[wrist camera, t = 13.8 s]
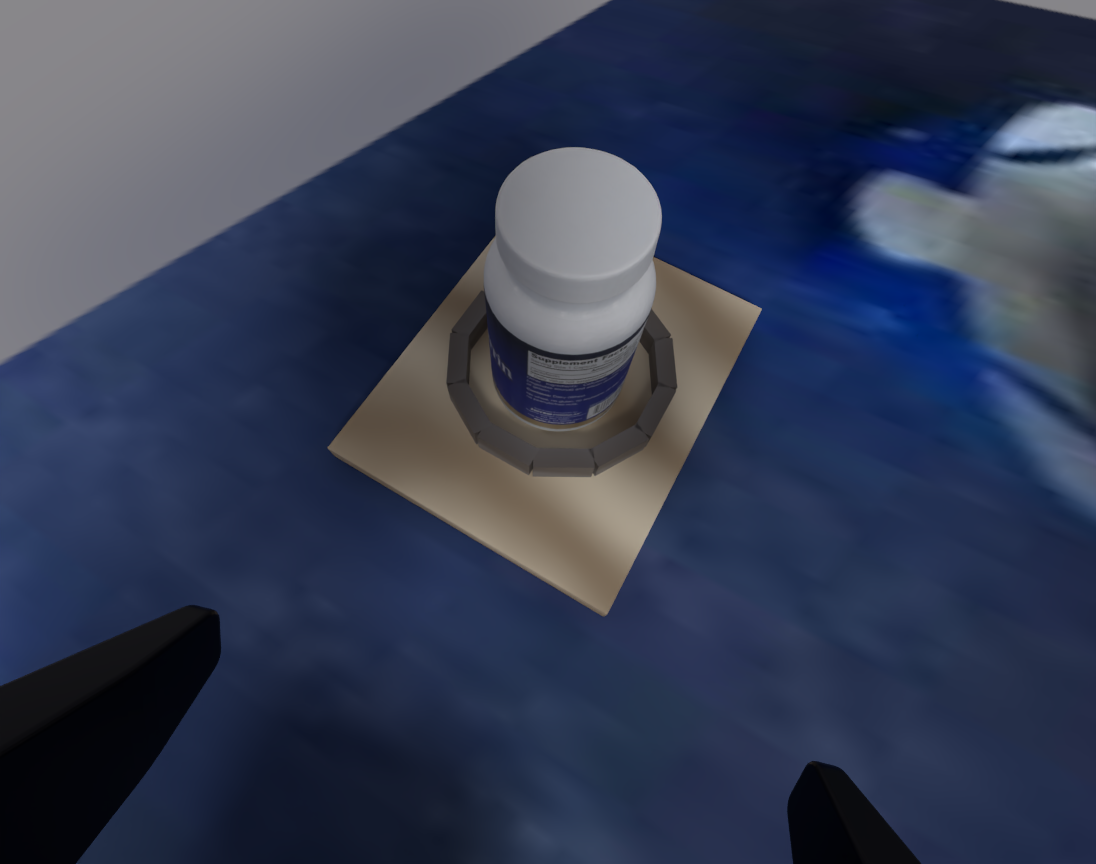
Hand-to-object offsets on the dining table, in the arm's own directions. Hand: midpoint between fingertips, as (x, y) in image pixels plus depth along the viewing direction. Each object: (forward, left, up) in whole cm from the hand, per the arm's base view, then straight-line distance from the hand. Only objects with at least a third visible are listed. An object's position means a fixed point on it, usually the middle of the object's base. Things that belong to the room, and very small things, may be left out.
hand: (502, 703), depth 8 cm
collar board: (+12, +5, -14) cm, 18 cm away
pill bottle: (+11, +5, -13) cm, 18 cm away
